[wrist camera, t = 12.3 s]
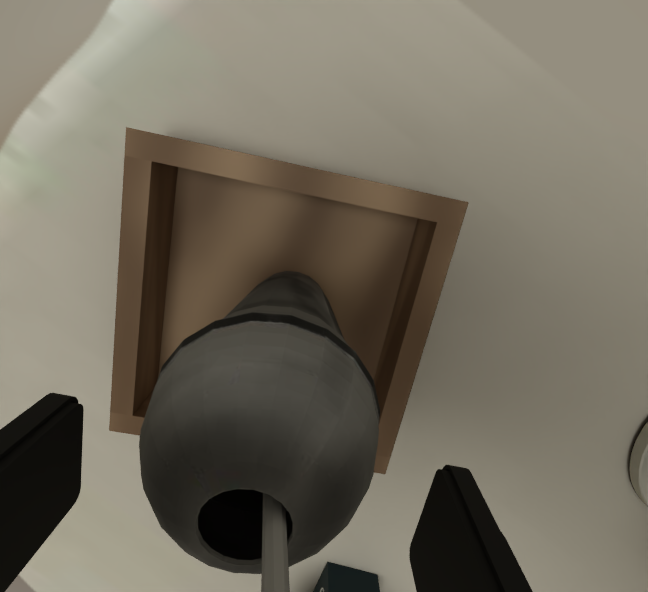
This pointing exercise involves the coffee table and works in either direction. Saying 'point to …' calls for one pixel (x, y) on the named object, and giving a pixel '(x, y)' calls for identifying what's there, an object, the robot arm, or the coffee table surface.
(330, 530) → the beverage cup
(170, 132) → the coffee table surface
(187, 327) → the walnut tray
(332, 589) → the watch
